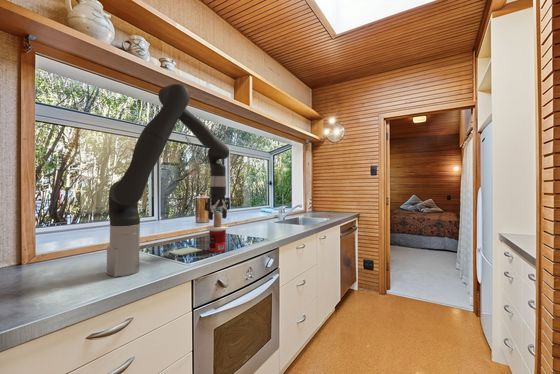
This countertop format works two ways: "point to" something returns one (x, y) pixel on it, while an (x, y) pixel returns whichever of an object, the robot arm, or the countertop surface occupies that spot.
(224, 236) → the canned food
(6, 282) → the countertop surface
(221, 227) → the lid
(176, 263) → the countertop surface
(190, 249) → the mat
